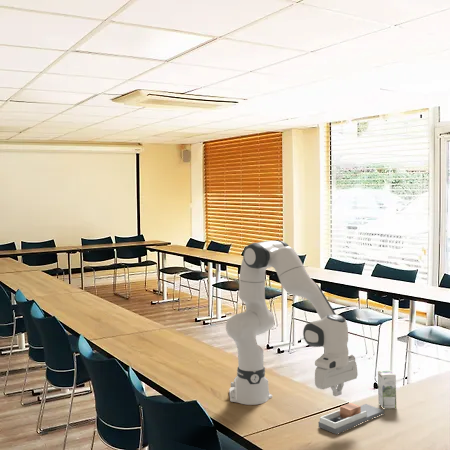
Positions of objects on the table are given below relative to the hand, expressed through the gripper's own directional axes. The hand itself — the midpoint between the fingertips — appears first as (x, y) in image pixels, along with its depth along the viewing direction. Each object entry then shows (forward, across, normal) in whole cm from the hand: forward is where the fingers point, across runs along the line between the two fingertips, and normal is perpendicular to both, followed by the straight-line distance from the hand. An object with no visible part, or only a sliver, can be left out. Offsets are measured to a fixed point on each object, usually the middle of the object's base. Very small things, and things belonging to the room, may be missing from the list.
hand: (337, 395), depth 214 cm
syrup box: (+13, -31, 0) cm, 33 cm away
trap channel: (+12, -9, -1) cm, 15 cm away
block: (+10, -8, 0) cm, 13 cm away
